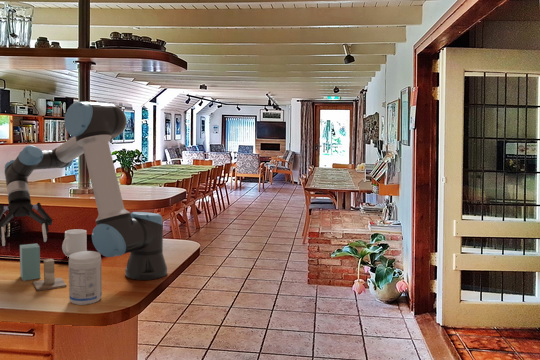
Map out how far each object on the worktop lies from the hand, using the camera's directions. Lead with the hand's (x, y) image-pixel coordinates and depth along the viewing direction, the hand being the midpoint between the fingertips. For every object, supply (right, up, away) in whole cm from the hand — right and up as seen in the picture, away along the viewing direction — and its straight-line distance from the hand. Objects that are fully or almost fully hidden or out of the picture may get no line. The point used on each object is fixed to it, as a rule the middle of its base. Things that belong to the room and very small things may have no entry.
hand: (25, 242), depth 171 cm
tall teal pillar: (+4, -12, -4) cm, 13 cm away
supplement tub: (+31, -15, -24) cm, 42 cm away
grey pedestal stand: (+14, -13, -11) cm, 22 cm away
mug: (+8, -9, +23) cm, 26 cm away
